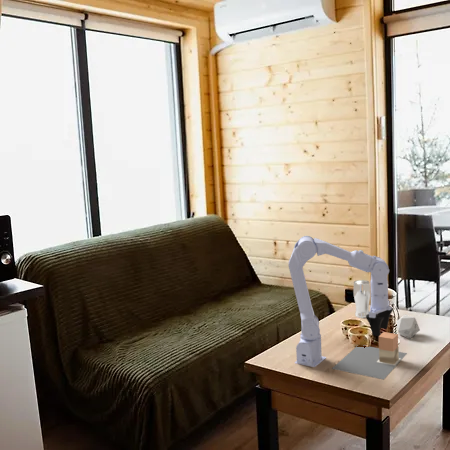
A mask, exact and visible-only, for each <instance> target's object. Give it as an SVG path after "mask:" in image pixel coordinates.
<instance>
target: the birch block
mask: <svg viewBox="0 0 450 450" xmlns="http://www.w3.org/2000/svg"><path fill="white" fill-rule="evenodd" d="M399 349H400V348H399V346H398V347H397V348H396V349H395V350H394V351H393V352H392V351H387V350H381V349H379V362H384V363H389V364H395V363H396V361H397V360H398V359H399V352H400V351H399Z"/></svg>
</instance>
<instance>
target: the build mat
mask: <svg viewBox="0 0 450 450" xmlns="http://www.w3.org/2000/svg"><path fill="white" fill-rule="evenodd" d="M407 354H408V353H407V352H403V351H402V352H401V351H399V359H398V360H397V361H396V363H395V364H389V363H384V362H379V347H373V346H369V347H365V348H364V347H357V346H355V347H354V348H353V349H352V350H351V351H350V352H349V353H348V354H346V356H344V357H343V358H342V359H341V360H340V361H338V362H337V363H336V364H335V365H334V366H333V367H332V368H331V369H332V370H336V371H340V372H346V373H350V374H354V375H360V376H364V377H365V376H366V377H370V378H375V379H379V380H383V381H384V380H385V379H386V378H387V377H388V375H390V373H392V371H393V370H394V369H395V368H396V366H397V365H398V364H400V362H401V361H402V360H403V358H404V357H405V356H406V355H407Z"/></svg>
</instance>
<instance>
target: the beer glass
mask: <svg viewBox="0 0 450 450" xmlns="http://www.w3.org/2000/svg"><path fill="white" fill-rule="evenodd" d="M353 297H354V298H353V299H354V303H355V313H354V315H355V317H356V318H360V319H366V315H367V314H369V312H370V309H369V308H370V301H371V283H370V280H365V279H360V280H355V281H353Z"/></svg>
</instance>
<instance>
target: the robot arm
mask: <svg viewBox="0 0 450 450" xmlns="http://www.w3.org/2000/svg"><path fill="white" fill-rule="evenodd" d="M325 254H326V255H329V256H332V257H334V258H337V259H341V260H345V261H346V262H348V265H349V267H352V268H355V269H357V270H360V271H363V272H365V273H370V280H369V282H370V305H369V308H370V309H369V314H367V315H366V318H365V319H366V320H367V322H368V324H369V326H370V330H371V334H372V336H376V337H379V336H380V335H381V329H383V330H387V329H388V325H389V320H390V317H391V315H392V313H393V311H394V310H393V309H394V308H393V307H392V306H390V300H389V281H388V275H389V273H390V269H389V265H388V264H387V262H386V260H384V259H383V258H381V257H380V256H377V255H370V254H368V253H365V252H364V251H363V250H361V249H359V250H357V249H355V250H353V251H349V250H347V249H344V248H343V247H339V246H337V245H335V244H332V243H330V242H328V241H326V240H322V239H320V238H317V237H312V236H310V235H304V236H301V237H300V238H299V239H298V240H297V241H296V243H294V247H293V249H292V253H291V254H290V255H291V256H290V258H289V260H288V270H289V274H290V278H291V282H292V286H293V289H294V294H295V297H296V302H297V306H298V310H299V313H300V314H299V315H300V319H301V320H300V321H301V322H300V323H301V331H300V332H301V333H300V336H299V337H300V338H299V339H300V340H299V342H298V343H297V345H296V347H295V350H296V361H294V364H295V365H296V364H297V365H303V366H306V367H312V368H317V366H318V365H319V364H321V363H322V362H323V361H325V360H326V359H327V356H323V355H322V334H321V329H320V321H319V318H318V316H316V315H315V312H314V309H313V306H312V300H311V297H310V293H309V288H308V284H307V280H306V276H305V271H304V268H303V267H304V266H305V264H306V263H307V262H308V261H310V260H311V259H312V258H314V257H315V255H316V256H318V257H319V256H323V255H325Z"/></svg>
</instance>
